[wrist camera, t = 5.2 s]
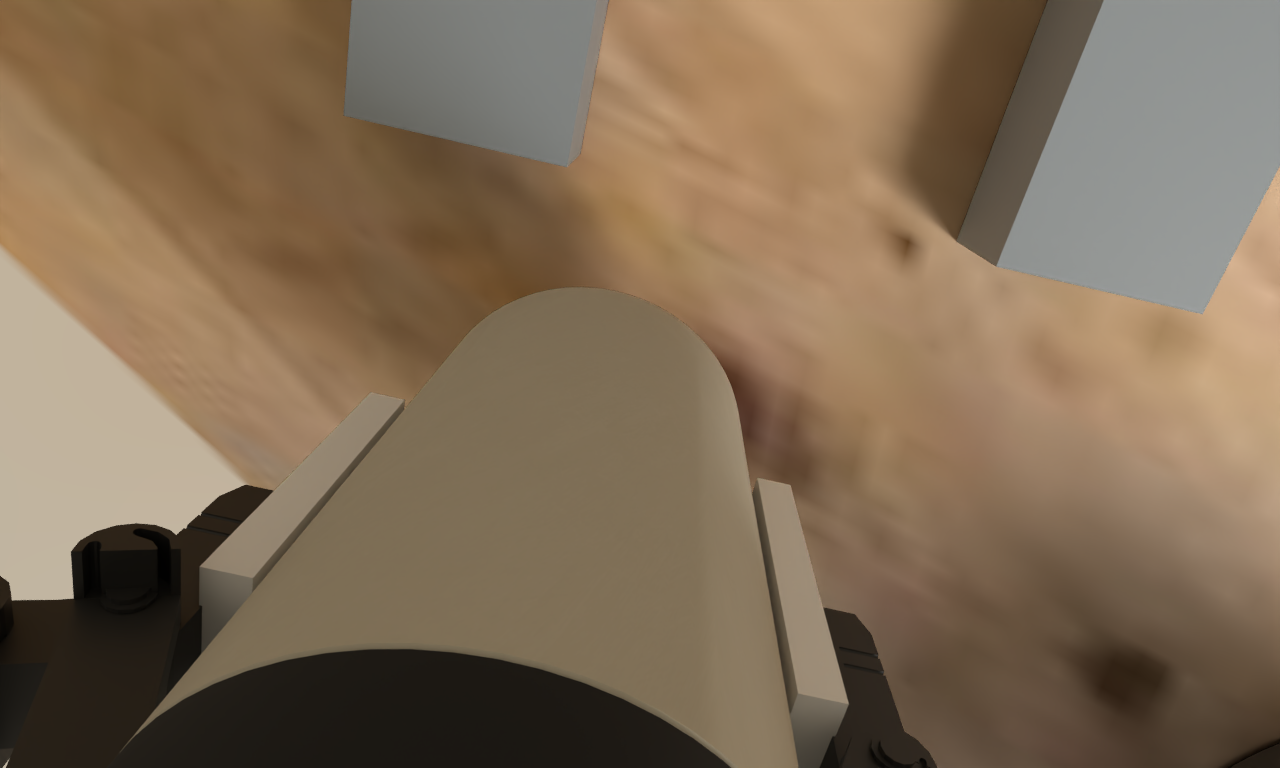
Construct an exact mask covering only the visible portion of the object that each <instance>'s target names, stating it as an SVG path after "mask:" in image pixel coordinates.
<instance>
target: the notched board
mask: <svg viewBox="0 0 1280 768" xmlns="http://www.w3.org/2000/svg"><path fill="white" fill-rule="evenodd" d="M608 1H609V0H352V3H351V18H350V32H349V46H348V61H347V75H346V89H345V103H344V116H347V117H352V118H356V119H360V120H365V121H369V122H373V123H378V124H382V125H386V126H391V127H395V128H399V129H403V130H408V131H412V132H416V133H421V134H425V135H429V136H434V137H438V138H442V139H447V140H451V141H455V142H460V143H464V144H468V145H473V146H477V147H481V148H486V149H490V150H494V151H499V152H503V153H507V154H512V155H516V156H520V157H525V158H529V159H533V160H538V161H542V162H546V163H551V164H555V165H559V166H564V167H568V166H569V165H570V164H571V163H572V162H573V161H574V160H575V159H576V158H577V157H578V156H579V155H580V153H581V148H582V142H583V137H584V131H585V126H586V121H587V115H588V110H589V104H590V99H591V93H592V88H593V83H594V77H595V72H596V66H597V61H598V56H599V50H600V45H601V39H602V34H603V28H604V23H605V18H606V12H607V7H608ZM1279 166H1280V0H1048V1H1047V4H1046V6H1045V9H1044V12H1043V14H1042V17H1041V19H1040V22H1039V25H1038V27H1037V30H1036V33H1035V35H1034V38H1033V40H1032V43H1031V46H1030V48H1029V51H1028V54H1027V56H1026V59H1025V62H1024V64H1023V67H1022V69H1021V72H1020V75H1019V77H1018V80H1017V83H1016V85H1015V88H1014V91H1013V93H1012V96H1011V98H1010V101H1009V104H1008V106H1007V109H1006V112H1005V114H1004V117H1003V120H1002V122H1001V125H1000V127H999V130H998V133H997V135H996V138H995V141H994V143H993V146H992V149H991V151H990V154H989V156H988V159H987V162H986V164H985V167H984V170H983V172H982V175H981V177H980V180H979V183H978V185H977V188H976V191H975V193H974V196H973V199H972V201H971V204H970V206H969V209H968V212H967V214H966V217H965V220H964V222H963V225H962V228H961V230H960V233H959V235H958V238H957V242H958V243H960V244H961V245H963V246H965V247H966V248H968V249H969V250H971V251H972V252H974V253H976V254H977V255H979V256H980V257H982V258H984V259H985V260H987V261H988V262H990V263H991V264H993V265H995V266H996V267H1001V268H1005V269H1009V270H1013V271H1018V272H1022V273H1026V274H1031V275H1035V276H1039V277H1044V278H1048V279H1052V280H1057V281H1061V282H1065V283H1070V284H1074V285H1078V286H1083V287H1087V288H1091V289H1096V290H1100V291H1104V292H1109V293H1113V294H1117V295H1122V296H1126V297H1130V298H1135V299H1139V300H1143V301H1148V302H1152V303H1156V304H1161V305H1165V306H1169V307H1174V308H1178V309H1182V310H1187V311H1191V312H1195V313H1200V314H1203V312H1204V310H1205V308H1206V306H1207V305H1208V303H1209V301H1210V299H1211V297H1212V295H1213V293H1214V291H1215V289H1216V287H1217V285H1218V283H1219V282H1220V280H1221V278H1222V276H1223V274H1224V272H1225V270H1226V268H1227V266H1228V264H1229V262H1230V260H1231V258H1232V257H1233V255H1234V253H1235V251H1236V249H1237V247H1238V245H1239V243H1240V241H1241V239H1242V237H1243V235H1244V234H1245V232H1246V230H1247V228H1248V226H1249V224H1250V222H1251V220H1252V218H1253V216H1254V214H1255V212H1256V211H1257V209H1258V207H1259V205H1260V203H1261V201H1262V199H1263V197H1264V195H1265V193H1266V191H1267V189H1268V188H1269V186H1270V184H1271V182H1272V180H1273V178H1274V176H1275V174H1276V172H1277V170H1278V168H1279Z"/></svg>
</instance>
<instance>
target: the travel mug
mask: <svg viewBox="0 0 1280 768" xmlns="http://www.w3.org/2000/svg"><path fill="white" fill-rule="evenodd" d="M107 768H799V766H798V761H797V755H796V749H795V743H794V737H793V731H792V725H791V719H790V713H789V708H788V702H787V696H786V690H785V684H784V678H783V672H782V666H781V660H780V655H779V649H778V643H777V637H776V631H775V625H774V619H773V613H772V607H771V602H770V596H769V590H768V584H767V578H766V572H765V566H764V560H763V554H762V549H761V543H760V537H759V531H758V525H757V519H756V513H755V507H754V501H753V496H752V490H751V484H750V478H749V472H748V466H747V460H746V454H745V448H744V443H743V437H742V431H741V425H740V419H739V413H738V408H737V404H736V399H735V396H734V393H733V390H732V387H731V385H730V382H729V380H728V378H727V376H726V374H725V371H724V370H723V368H722V366H721V365H720V363H719V361H718V360H717V358H716V357H715V355H714V354H713V353H712V351H711V350H710V349H709V347H708V346H707V345H706V344H705V343H704V342H703V341H702V339H701V338H700V337H699V336H698V335H697V334H696V333H695V332H694V331H692V330H691V329H690V328H689V327H688V326H687V325H686V324H684V323H683V322H682V321H680V320H679V319H678V318H676V317H675V316H674V315H672V314H670V313H669V312H667V311H665V310H664V309H662V308H660V307H658V306H656V305H654V304H652V303H650V302H648V301H646V300H643V299H640V298H638V297H635V296H632V295H629V294H625V293H622V292H618V291H614V290H607V289H601V288H590V287H566V288H558V289H551V290H546V291H542V292H537V293H534V294H531V295H528V296H525V297H522V298H519V299H517V300H515V301H513V302H510V303H508V304H506V305H504V306H503V307H501V308H499V309H497V310H496V311H494V312H492V313H491V314H490V315H488V316H487V317H486V318H484V319H483V320H482V321H480V322H479V323H478V324H477V325H476V326H475V327H474V328H473V329H472V330H471V331H470V332H469V333H468V334H467V335H466V336H465V337H464V338H463V340H462V341H461V342H460V343H459V344H458V346H457V347H456V348H455V349H454V350H453V352H452V353H451V354H450V355H449V356H448V358H447V359H446V360H445V361H444V362H443V364H442V365H441V366H440V367H439V368H438V370H437V371H436V372H435V373H434V374H433V376H432V377H431V378H430V379H429V380H428V382H427V383H426V384H425V385H424V386H423V388H422V389H421V390H420V391H419V392H418V394H417V395H416V396H415V397H414V398H413V400H412V401H411V402H410V403H409V405H408V406H407V407H406V408H405V409H404V411H403V412H402V413H401V414H400V415H399V417H398V418H397V419H396V420H395V421H394V423H393V424H392V425H391V426H390V427H389V429H388V430H387V431H386V432H385V433H384V435H383V436H382V437H381V438H380V439H379V441H378V442H377V443H376V444H375V445H374V447H373V448H372V449H371V450H370V451H369V453H368V454H367V455H366V456H365V458H364V459H363V460H362V461H361V462H360V464H359V465H358V466H357V467H356V468H355V470H354V471H353V472H352V473H351V474H350V476H349V477H348V478H347V479H346V480H345V482H344V483H343V484H342V485H341V486H340V488H339V489H338V490H337V491H336V492H335V494H334V495H333V496H332V497H331V498H330V500H329V501H328V502H327V503H326V504H325V506H324V507H323V508H322V509H321V510H320V512H319V513H318V514H317V515H316V517H315V518H314V519H313V520H312V521H311V523H310V524H309V525H308V526H307V527H306V529H305V530H304V531H303V532H302V533H301V535H300V536H299V537H298V538H297V539H296V541H295V542H294V543H293V544H292V545H291V547H290V548H289V549H288V550H287V551H286V553H285V554H284V555H283V556H282V557H281V559H280V560H279V561H278V562H277V563H276V565H275V566H274V567H273V568H272V569H271V571H270V572H269V573H268V574H267V576H266V577H265V578H264V579H263V580H262V582H261V583H260V584H259V585H258V586H257V588H256V589H255V590H254V591H253V592H252V594H251V595H250V596H249V597H248V598H247V600H246V601H245V602H244V603H243V604H242V606H241V607H240V608H239V609H238V610H237V612H236V613H235V614H234V615H233V616H232V618H231V619H230V620H229V621H228V622H227V624H226V625H225V626H224V627H223V628H222V630H221V631H220V632H219V633H218V635H217V636H216V637H215V638H214V639H213V641H212V642H211V643H210V644H209V645H208V647H207V648H206V649H205V650H204V651H203V653H202V654H201V655H200V656H199V657H198V659H197V660H196V661H195V662H194V663H193V665H192V666H191V667H190V668H189V669H188V671H187V672H186V673H185V674H184V675H183V677H182V678H181V679H180V680H179V681H178V683H177V684H176V685H175V686H174V687H173V689H172V690H171V691H170V692H169V694H168V695H167V696H166V697H165V698H164V700H163V701H162V702H161V703H160V704H159V706H158V707H157V708H156V709H155V710H154V712H153V713H152V714H151V715H150V716H149V718H148V719H147V720H146V721H145V722H144V724H143V725H142V726H141V727H140V728H139V730H138V731H137V732H136V733H135V734H134V736H133V737H132V738H131V739H130V740H129V742H128V743H127V744H126V745H125V746H124V748H123V749H122V750H121V751H120V753H119V754H118V755H117V756H116V757H115V759H114V760H113V761H112V762H111V763H110V765H109V766H108V767H107Z"/></svg>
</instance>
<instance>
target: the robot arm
mask: <svg viewBox="0 0 1280 768" xmlns="http://www.w3.org/2000/svg"><path fill="white" fill-rule="evenodd" d="M404 404H405V400H404V399H399V398H395V397H390V396H386V395H381V394H377V393H372V392H371V393H370V394H369V395H368V396H367V397H366V398H365V399H364V400H363V401H362V402H361V403H360V404H359V405H358V406H357V407H356V408H355V409H354V410H353V411H352V412H351V413H350V414H349V415H348V416H347V417H346V418H345V419H344V420H343V421H342V422H341V423H340V424H339V425H338V426H337V427H336V428H335V429H334V430H333V431H332V432H331V433H330V434H329V435H328V436H327V437H326V438H325V439H324V440H323V441H322V442H321V443H320V444H319V445H318V447H317V448H316V449H315V450H314V451H313V452H312V453H311V454H310V455H309V456H308V457H307V458H306V459H305V460H304V461H303V462H302V463H301V464H300V465H299V466H298V467H297V468H296V469H295V470H294V471H293V472H292V473H291V474H290V475H289V476H288V477H287V478H286V479H285V480H284V481H283V482H282V483H281V484H280V485H279V486H278V487H277V488H276V489H275V490H274V491H272V490H268V489H263V488H259V487H254V486H249V485H244V486H241V487H239V488H237V489H235V490H232V491H230V492H228V493H225V494H223V495H221V496H219V497H218V498H217V499H216V500H215V501H214V502H212V503H211V504H210V505H209V506H208V507H207V508H206V509H205V510H204V511H203V512H202V514H201V516H200V515H198V516H197V517H196V518H195V519H194V520H193V521H191V522H190V523H189V524H188V526H187V528H186V529H183V530H182V531H180V532H179V533H178V534H177V535H175V534H174V533H173V532H172V531H170V530H168V529H165V528H162V527H159V526H157V525H148V524H127V525H118V526H113V527H110V528H107V529H103V530H100V531H96V532H94V533H93V534H91V535H89V536H87V537H86V538H84V539H82V540H80V541H79V543H78V544H77V545H76V546H75V547H74V549H73V550H72V551H71V558H72V575H73V592H74V599H63V600H20V601H19V600H18V601H17V600H15V601H12V600H11V591H10V586H9V582H7V581H6V580H5V579H3V578H2V577H1V576H0V768H3V766H4V765H5V763H6V762H7V760H8V759H9V758H10V759H9V762H8V764H7V766H6V768H107V767H108V766H109V765H110V763H111V762H112V761H113V760H114V759H115V757H116V756H117V755H118V754H119V753H120V751H121V750H122V749H123V748H124V746H125V745H126V744H127V743H128V742H129V740H130V739H131V738H132V737H133V736H134V734H135V733H136V732H137V731H138V730H139V728H140V727H141V726H142V725H143V724H144V722H145V721H146V720H147V719H148V718H149V716H150V715H151V714H152V713H153V712H154V710H155V709H156V708H157V707H158V706H159V704H160V703H161V702H162V701H163V700H164V698H165V697H166V696H167V695H168V694H169V692H170V691H171V690H172V689H173V687H174V686H175V685H176V684H177V683H178V681H179V680H180V679H181V678H182V677H183V675H184V674H185V673H186V672H187V671H188V669H189V668H190V667H191V666H192V665H193V663H194V662H195V661H196V660H197V659H198V657H199V656H200V655H201V654H202V653H203V651H204V650H205V649H206V648H207V647H208V645H209V644H210V643H211V642H212V641H213V639H214V638H215V637H216V636H217V635H218V633H219V632H220V631H221V630H222V628H223V627H224V626H225V625H226V624H227V622H228V621H229V620H230V619H231V618H232V616H233V615H234V614H235V613H236V612H237V610H238V609H239V608H240V607H241V606H242V604H243V603H244V602H245V601H246V600H247V598H248V597H249V596H250V595H251V594H252V592H253V591H254V590H255V589H256V588H257V586H258V585H259V584H260V583H261V582H262V580H263V579H264V578H265V577H266V576H267V574H268V573H269V572H270V571H271V569H272V568H273V567H274V566H275V565H276V563H277V562H278V561H279V560H280V559H281V557H282V556H283V555H284V554H285V553H286V551H287V550H288V549H289V548H290V547H291V545H292V544H293V543H294V542H295V541H296V539H297V538H298V537H299V536H300V535H301V533H302V532H303V531H304V530H305V529H306V527H307V526H308V525H309V524H310V523H311V521H312V520H313V519H314V518H315V517H316V515H317V514H318V513H319V512H320V510H321V509H322V508H323V507H324V506H325V504H326V503H327V502H328V501H329V500H330V498H331V497H332V496H333V495H334V494H335V492H336V491H337V490H338V489H339V488H340V486H341V485H342V484H343V483H344V482H345V480H346V479H347V478H348V477H349V476H350V474H351V473H352V472H353V471H354V470H355V468H356V467H357V466H358V465H359V464H360V462H361V461H362V460H363V459H364V458H365V456H366V455H367V454H368V453H369V451H370V450H371V449H372V448H373V447H374V445H375V444H376V443H377V442H378V441H379V439H380V438H381V437H382V436H383V435H384V433H385V432H386V431H387V430H388V429H389V427H390V426H391V425H392V424H393V423H394V421H395V420H396V419H397V418H398V417H399V415H400V414H401V413H402V412H403V411H404ZM752 496H753V501H754V507H755V513H756V519H757V525H758V531H759V537H760V543H761V549H762V554H763V560H764V566H765V572H766V578H767V584H768V590H769V596H770V602H771V607H772V613H773V619H774V625H775V631H776V637H777V643H778V649H779V655H780V660H781V666H782V672H783V678H784V684H785V690H786V696H787V702H788V708H789V713H790V719H791V725H792V731H793V737H794V743H795V749H796V755H797V761H798V766H799V768H937V766H936V764H935V762H934V760H933V758H932V757H931V755H930V753H929V752H928V751H927V750H926V749H925V748H924V747H923V746H922V745H921V744H920V743H919V742H918V741H917V740H916V739H915V738H913V737H912V736H910V735H909V734H907V733H905V732H904V729H903V726H902V723H901V721H900V718H899V715H898V712H897V709H896V706H895V703H894V700H893V697H892V694H891V691H890V688H889V685H888V682H887V679H886V676H884V675H883V673H884V671H883V668H882V665H881V662H880V659H878V653H877V650H876V647H875V644H874V641H873V638H872V635H871V634H870V632H869V631H868V630H867V629H866V628H865V626H864V625H863V624H862V623H861V621H860V620H859V619H858V618H857V617H856V615H855V614H851V613H846V612H842V611H837V610H832V609H828V608H823V605H822V602H821V598H820V594H819V590H818V587H817V583H816V579H815V575H814V572H813V568H812V564H811V560H810V557H809V553H808V549H807V545H806V542H805V538H804V534H803V530H802V527H801V523H800V519H799V515H798V512H797V508H796V504H795V500H794V497H793V493H792V489H791V485H788V484H784V483H779V482H775V481H770V480H766V479H761V478H757V481H756V484H755V487H754V490H753V493H752ZM1230 768H1280V744H1277V745H1275V746H1272V747H1270V748H1268V749H1265V750H1263V751H1261V752H1259V753H1257V754H1255V755H1252V756H1250V757H1248V758H1246V759H1245V760H1243V761H1241V762H1239V763H1237V764H1235V765H1234V766H1232V767H1230Z"/></svg>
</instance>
